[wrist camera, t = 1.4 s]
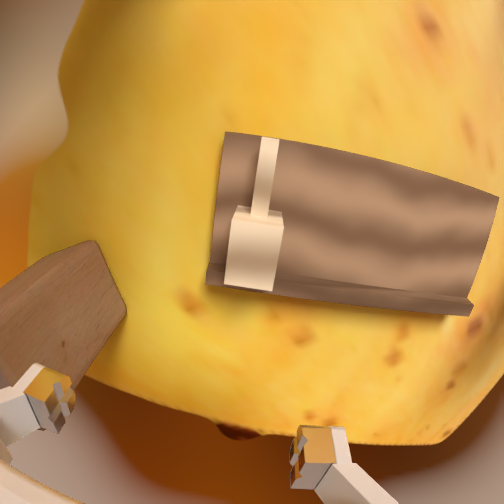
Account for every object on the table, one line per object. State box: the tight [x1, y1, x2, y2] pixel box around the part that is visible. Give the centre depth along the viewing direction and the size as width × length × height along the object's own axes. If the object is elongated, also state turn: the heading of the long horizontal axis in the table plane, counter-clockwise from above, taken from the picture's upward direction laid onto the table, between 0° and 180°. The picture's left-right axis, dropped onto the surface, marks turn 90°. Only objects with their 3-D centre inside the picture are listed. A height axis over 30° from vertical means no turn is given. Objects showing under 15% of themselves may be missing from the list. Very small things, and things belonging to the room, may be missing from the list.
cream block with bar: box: [224, 137, 284, 291], centre depth 26 cm, size 13×4×5 cm, turn 172°
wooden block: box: [0, 241, 126, 431], centre depth 26 cm, size 10×10×20 cm
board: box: [205, 132, 499, 316], centre depth 29 cm, size 14×30×4 cm, turn 82°
